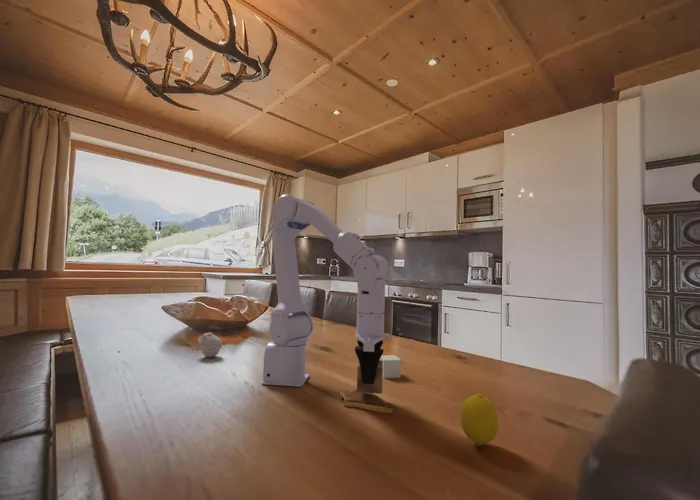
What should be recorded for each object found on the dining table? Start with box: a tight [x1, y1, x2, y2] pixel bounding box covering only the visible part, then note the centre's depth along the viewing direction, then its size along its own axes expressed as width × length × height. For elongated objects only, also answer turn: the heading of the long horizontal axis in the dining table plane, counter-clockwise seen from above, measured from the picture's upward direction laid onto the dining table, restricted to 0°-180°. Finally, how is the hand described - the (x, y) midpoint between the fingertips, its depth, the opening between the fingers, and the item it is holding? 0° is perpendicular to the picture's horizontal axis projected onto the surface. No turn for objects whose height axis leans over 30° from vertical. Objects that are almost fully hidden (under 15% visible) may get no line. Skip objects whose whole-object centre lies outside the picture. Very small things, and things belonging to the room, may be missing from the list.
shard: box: [339, 388, 395, 414], centre depth 65 cm, size 11×8×2 cm
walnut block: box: [356, 360, 383, 395], centre depth 67 cm, size 5×5×5 cm
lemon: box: [460, 393, 499, 447], centre depth 52 cm, size 6×6×8 cm
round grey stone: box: [197, 332, 223, 358], centre depth 95 cm, size 6×7×7 cm
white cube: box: [380, 354, 402, 379], centre depth 84 cm, size 4×4×4 cm
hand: (368, 378), depth 67 cm, fingers closed on walnut block, 5 cm apart
